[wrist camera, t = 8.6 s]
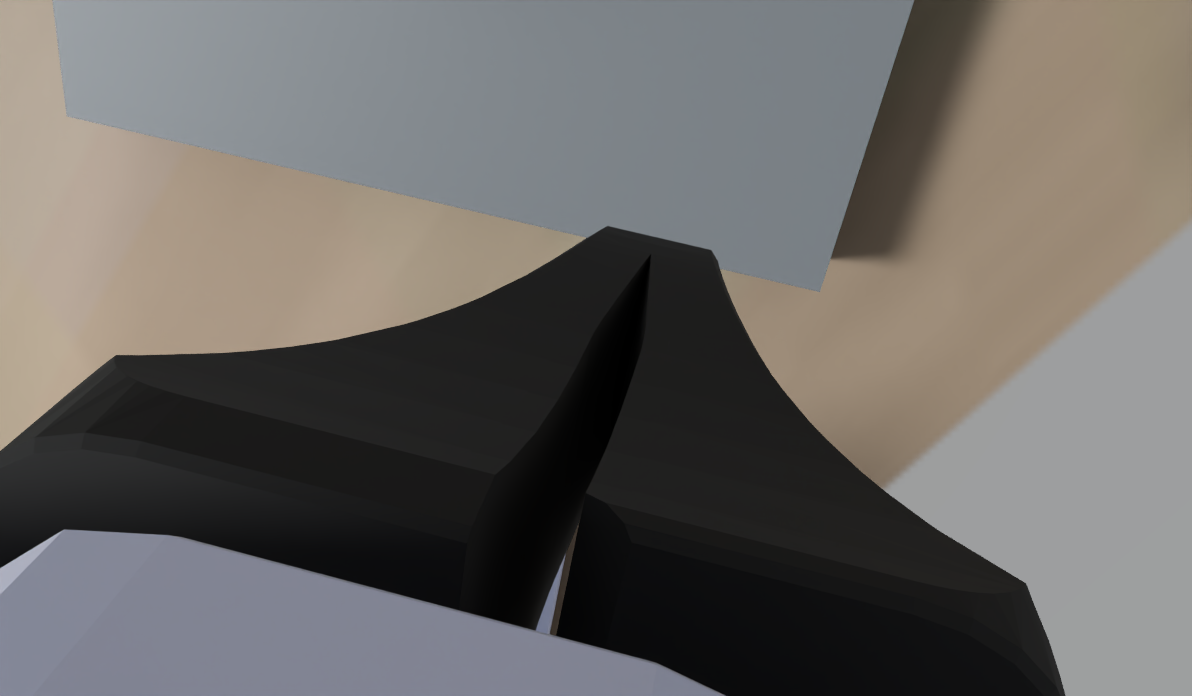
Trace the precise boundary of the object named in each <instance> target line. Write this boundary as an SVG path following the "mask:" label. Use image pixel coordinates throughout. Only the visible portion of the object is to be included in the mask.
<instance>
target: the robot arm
mask: <svg viewBox="0 0 1192 696" xmlns="http://www.w3.org/2000/svg"><path fill="white" fill-rule="evenodd" d="M579 521H580V523H579ZM578 523H579V528H578V532H577V537H576V542H575V547H574V552H573V557H572V562H571V566H570V571H569V576H568V581H567V586H566V591H565V596H564V600H563V605H562V610H561V615H560V620H559V625H558V629H557V634H556V636H554V635H550V630H551V625H552V621H553V616H554V611H555V606H556V601H557V596H558V591H559V586H560V581H561V576H562V571H563V566H564V561H565V556H566V551H567V549H568V547H569V544H570V542H571V540H572V537H573V535H574V532H575V530H576V528H577V525H578ZM0 696H1065V693H1064V689H1063V685H1062V682H1061V678H1060V674H1059V671H1058V668H1057V665H1056V662H1055V659H1054V656H1053V653H1052V649H1051V646H1050V643H1049V640H1048V638H1047V635H1046V633H1045V630H1044V628H1043V625H1042V623H1041V621H1040V618H1039V616H1038V613H1037V611H1036V608H1035V606H1034V603H1033V601H1032V598H1031V595H1030V592H1029V590H1028V587H1027V585H1026V583H1024V582H1023V581H1021V580H1019V579H1018V578H1016V577H1014V576H1012V575H1011V574H1009V573H1008V572H1006V571H1004V570H1003V569H1001V568H999V567H998V566H996V565H994V564H993V563H991V562H989V561H988V560H986V559H984V558H983V557H981V556H980V555H978V554H976V553H975V552H973V551H971V550H970V549H968V548H966V547H965V546H963V545H961V544H960V543H958V542H956V541H955V540H953V539H952V538H950V537H948V536H947V535H945V534H943V533H941V532H940V531H938V530H937V529H935V528H934V527H932V526H931V525H930V524H928V523H927V522H925V521H924V520H923V519H921V518H920V517H919V516H917V515H916V514H915V513H913V512H912V511H911V510H909V509H908V508H906V507H905V506H904V505H902V504H901V503H900V502H898V501H897V500H896V499H894V498H893V497H892V496H890V495H889V494H888V493H886V492H885V491H884V490H883V489H881V488H880V487H879V486H878V485H877V484H875V483H874V482H873V481H872V480H870V479H869V478H868V477H867V476H866V475H864V474H863V473H862V472H861V471H860V470H859V469H857V468H856V467H855V466H854V465H853V464H852V463H851V462H850V461H849V460H848V459H847V458H846V457H845V456H844V455H843V454H841V453H840V452H839V451H838V450H837V449H836V448H835V447H834V446H833V445H832V444H831V443H830V442H829V441H828V440H826V438H825V437H824V436H823V435H822V434H821V433H820V432H819V431H818V430H817V429H816V428H815V427H814V426H813V425H812V424H811V423H810V422H809V421H808V419H807V418H806V417H805V416H804V415H803V413H802V412H801V411H800V410H799V409H798V407H797V406H796V405H795V404H794V403H793V402H792V400H791V399H790V398H789V397H788V396H787V394H786V393H785V392H784V391H783V390H782V388H781V387H780V385H779V384H778V383H777V381H776V380H775V379H774V377H773V376H772V375H771V373H770V371H769V370H768V368H767V367H766V365H765V364H764V362H763V360H762V359H761V357H760V355H759V354H758V352H757V350H756V348H755V347H754V345H753V343H752V341H751V340H750V338H749V336H748V334H747V332H746V330H745V328H744V326H743V324H742V322H741V320H740V318H739V316H738V314H737V312H736V309H735V307H734V305H733V303H732V301H731V298H730V296H729V293H728V291H727V288H726V286H725V283H724V280H723V277H722V274H721V271H720V268H719V263H718V260H717V259H716V257H715V255H714V254H713V252H712V250H709V249H705V248H701V247H696V246H692V245H688V244H684V243H679V242H675V241H671V240H666V239H662V238H658V237H653V236H649V235H645V234H640V233H636V232H632V231H627V230H623V229H619V228H615V227H610V226H606V227H604V228H603V229H601V230H599V231H598V232H596V233H594V234H593V235H591V236H589V237H588V238H586V239H585V240H583V241H581V242H580V243H578V244H577V245H575V246H574V247H572V248H571V249H569V250H568V251H566V252H564V253H563V254H561V255H560V256H558V257H556V258H555V259H553V260H552V261H550V262H548V263H546V264H545V265H543V266H541V267H540V268H538V269H536V270H534V271H533V272H531V273H529V274H528V275H526V276H524V277H522V278H520V279H518V280H516V281H514V282H512V283H509V284H507V285H505V286H503V287H501V288H499V289H497V290H495V291H493V292H491V293H489V294H487V295H485V296H483V297H481V298H478V299H476V300H474V301H471V302H469V303H466V304H464V305H461V306H459V307H456V308H453V309H451V310H448V311H445V312H442V313H439V314H436V315H433V316H430V317H427V318H424V319H421V320H418V321H414V322H411V323H408V324H404V325H400V326H396V327H391V328H387V329H382V330H378V331H374V332H369V333H365V334H361V335H356V336H352V337H347V338H343V339H339V340H333V341H327V342H321V343H314V344H307V345H300V346H294V347H285V348H275V349H266V350H257V351H246V352H232V353H210V354H175V355H116V356H114V357H113V358H112V359H111V360H109V361H108V362H107V363H105V364H104V365H103V366H101V367H100V368H99V369H98V370H96V371H95V372H94V373H93V374H92V375H90V376H89V377H88V378H87V379H85V380H84V381H83V382H82V383H81V384H79V385H78V386H77V387H76V388H75V389H73V390H72V391H71V392H70V393H69V394H67V395H66V396H65V397H64V398H63V399H61V400H60V401H59V402H58V403H57V404H56V405H54V406H53V407H52V408H51V409H50V410H48V411H47V412H46V413H45V414H44V415H43V416H41V417H40V418H39V419H38V420H37V421H35V422H34V423H33V424H32V425H31V426H29V427H28V428H27V429H26V430H25V431H24V432H22V433H21V434H20V435H19V436H18V437H16V438H15V439H14V440H13V441H12V442H11V443H9V444H8V445H7V446H6V447H5V448H3V449H2V450H1V451H0Z"/></svg>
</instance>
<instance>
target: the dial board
mask: <svg viewBox="0 0 1192 696" xmlns="http://www.w3.org/2000/svg"><path fill="white" fill-rule="evenodd" d="M52 1H53V9H54V17H55V25H56V33H57V41H58V49H59V57H60V65H61V73H62V82H63V90H64V98H65V106H66V114H67V116H68V117H72V118H76V119H81V120H85V121H89V122H93V123H98V124H102V125H106V126H111V127H115V128H119V129H123V130H128V131H132V132H136V133H141V134H145V135H149V136H154V137H158V138H162V139H166V140H171V141H175V142H179V143H184V144H188V145H192V146H196V147H201V148H205V149H209V150H214V151H218V152H222V153H226V154H231V155H235V156H239V157H244V158H248V159H252V160H256V161H261V162H265V163H269V164H274V165H278V166H282V167H286V168H291V169H295V170H299V171H304V172H308V173H312V174H316V175H321V176H325V177H329V178H334V179H338V180H342V181H346V182H351V183H355V184H359V185H364V186H368V187H372V188H376V189H381V190H385V191H389V192H394V193H398V194H402V195H406V196H411V197H415V198H419V199H424V200H428V201H432V202H436V203H441V204H445V205H449V206H454V207H458V208H462V209H466V210H471V211H475V212H479V213H484V214H488V215H492V216H496V217H501V218H505V219H509V220H514V221H518V222H522V223H526V224H531V225H535V226H539V227H544V228H548V229H552V230H556V231H561V232H565V233H569V234H574V235H578V236H582V237H586V238H588V237H589V236H591V235H593V234H594V233H596V232H598V231H599V230H601V229H603V228H604V227H606V226H610V227H615V228H619V229H623V230H627V231H632V232H636V233H640V234H645V235H649V236H653V237H658V238H662V239H666V240H671V241H675V242H679V243H684V244H688V245H692V246H696V247H701V248H705V249H709V250H712V252H713V254H714V255H715V257H716V259H717V260H718V263H719V268H720V269H724V270H728V271H732V272H736V273H741V274H745V275H749V276H754V277H758V278H762V279H766V280H771V281H775V282H779V283H784V284H788V285H792V286H796V287H801V288H805V289H809V290H814V291H818V292H820V289H821V286H822V283H823V280H824V277H825V274H826V271H827V268H828V265H829V262H830V259H831V256H832V252H833V249H834V246H835V243H836V240H837V237H838V234H839V231H840V228H841V225H842V222H843V219H844V215H845V212H846V209H847V206H848V203H849V200H850V197H851V194H852V191H853V188H854V185H855V182H856V178H857V175H858V172H859V169H860V166H861V163H862V160H863V157H864V154H865V151H866V148H867V145H868V141H869V138H870V135H871V132H872V129H873V126H874V123H875V120H876V117H877V114H878V111H879V108H880V104H881V101H882V98H883V95H884V92H885V89H886V86H887V83H888V80H889V77H890V74H891V71H892V67H893V64H894V61H895V58H896V55H897V52H898V49H899V46H900V43H901V40H902V37H903V34H904V30H905V27H906V24H907V21H908V18H909V15H910V12H911V9H912V6H913V3H914V0H52Z"/></svg>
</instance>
